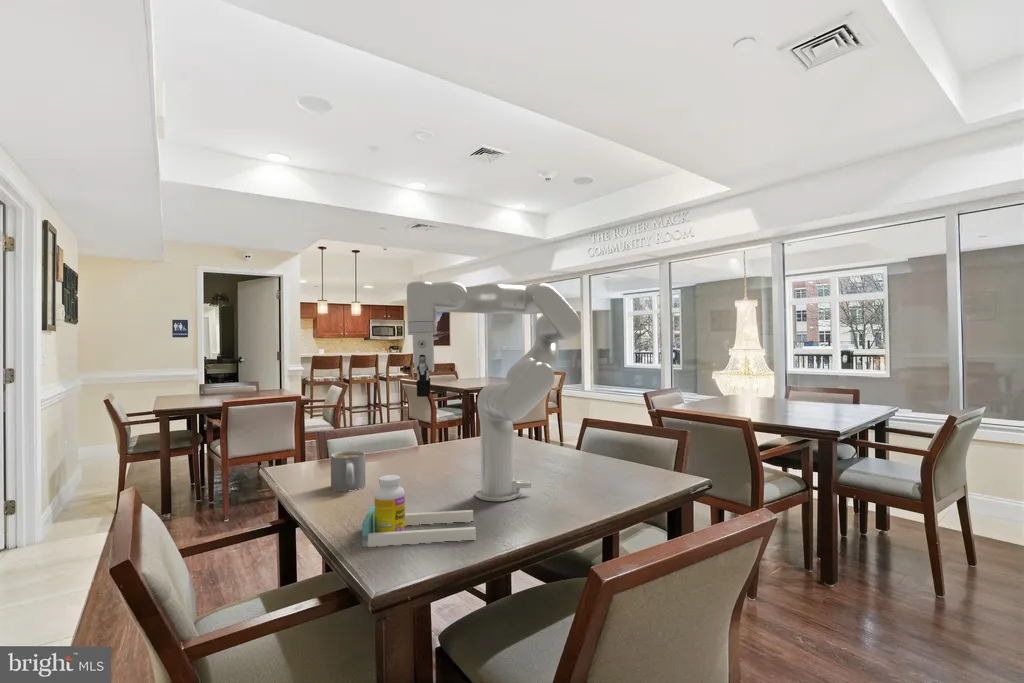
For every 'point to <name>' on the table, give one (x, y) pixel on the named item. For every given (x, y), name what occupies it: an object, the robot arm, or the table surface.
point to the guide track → (419, 535)
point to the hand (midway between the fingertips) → (424, 394)
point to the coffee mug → (347, 470)
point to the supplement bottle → (389, 505)
